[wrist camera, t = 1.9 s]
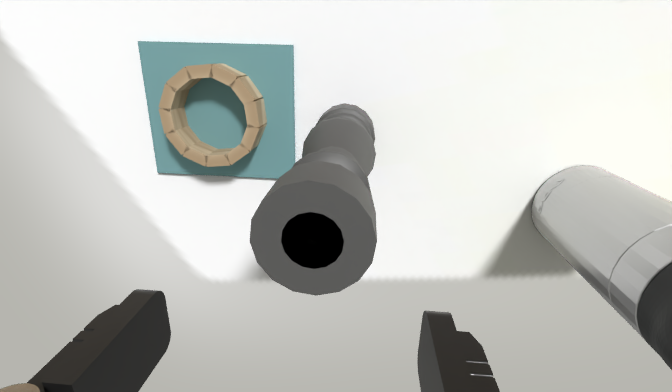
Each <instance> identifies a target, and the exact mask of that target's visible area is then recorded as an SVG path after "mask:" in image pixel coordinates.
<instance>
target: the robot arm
mask: <svg viewBox="0 0 672 392" xmlns="http://www.w3.org/2000/svg"><path fill="white" fill-rule="evenodd" d="M532 219H533V222H534V225H535V227H536V228H537V230H538V231H539V232H540V233H541V234H542V235H543V236H544V238H545V239H546V240H547V241H548V242H549V243H550V244H551V245H552V246H553V247H554V248H555V249H556V250H557V251H558V252H559V253H560V254H561V255H562V256H563V257H564V258H565V259H566V260H567V261H568V262H569V263H570V264H571V265H572V266H573V267H574V268H575V269H576V270H577V271H578V272H579V274H580V275H581V276H582V277H583V278H584V279H585V280H586V281H587V282H588V283H589V284H590V285H591V286H592V287H593V288H594V289H595V290H596V291H597V292H598V293H599V294H600V295H601V296H602V297H603V298H604V299H605V300H606V301H607V302H608V303H609V304H610V305H611V306H612V307H613V308H614V309H615V310H616V311H617V312H618V313H619V314H620V315H621V316H622V317H623V318H624V319H625V320H626V321H627V322H628V323H629V324H630V325H631V326H632V327H633V328H634V329H635V330H636V331H637V332H638V333H639V334H640V335H641V337H643V338H644V339H645V341H646V342H647V343H648V344H649V345H650V346H651V347H652V348H653V349H654V350H655V351H656V352H657V353H658V354H659V355H660V356H661V357H662V359H663V360H664V361H665V363H666V364H667V365H668V366H669V367H670V369H672V202H671V201H669V200H667V199H664V198H662V197H660V196H658V195H656V194H654V193H652V192H650V191H648V190H646V189H644V188H641V187H639V186H637V185H635V184H633V183H631V182H629V181H627V180H625V179H623V178H621V177H619V176H617V175H614V174H612V173H610V172H608V171H606V170H604V169H602V168H598V167H595V166H585V165H582V166H575V167H571V168H568V169H564V170H562V171H560V172H558V173H556V174H555V175H553V176H552V177H551V178H549V179H548V180H547V181H546V182H545V183H544V184H543V185H542V186H541V187H540V189H539V190H538V192H537V194H536V195H535V198H534V201H533V204H532ZM170 336H171V330H170V324H169V318H168V312H167V306H166V300H165V295H164V293H163V292H162V291H153V290H139V289H138V290H134V291H133V292H132V293H131V294H130V295H129V296H128V297H127V298H126V299H125V300H124V301H123V302H122V303H121V304H120V305H114V306H113V307H111V308H109V309H108V310H106V311H104V312H102V313H101V314H99V315H98V316H97V317H95V318H94V319H93V320H92V321H91V322H90V323H89V324H88V325H87V326H86V327H85V328H84V331H81V332H80V333H79V334H78V335H77V336H76V337H75V338H73V341H72V342H69V343H68V344H67V345H66V346H65V347H64V348H63V349H62V350H61V351H60V352H59V353H58V354H57V355H56V356H55V357H53V358H52V359H51V360H50V361H49V362H48V363H47V364H46V365H45V366H44V367H43V368H42V369H41V370H40V371H39V372H38V373H37V374H36V375H35V376H34V377H33V378H32V379H30V380H29V381H28V382H27V383H21V384H15V385H11V386H8V387H5V388H2V389H0V392H138V391H139V390H140V388H141V387H142V385H143V384H144V382H145V381H146V380H147V378H148V377H149V375H150V374H151V372H152V371H153V369H154V368H155V366H156V365H157V363H158V362H159V360H160V359H161V358H162V356H163V355H164V353H165V352H166V350H167V348H168V345H169V342H170ZM418 374H419V380H420V387H421V392H500V391H499V388H498V386H497V383H496V381H495V378H493V373H492V371H491V368H490V365H488V360H487V358H486V355H485V353H484V350H483V348H482V346H481V345H480V343H478V341H477V340H476V339H475V338H474V337H473V336H472V335H471V334H470V333H469V332H460V331H456V327H455V325H454V321H453V318H452V315H451V313H448V312H435V311H424V313H423V318H422V325H421V334H420V341H419V349H418Z"/></svg>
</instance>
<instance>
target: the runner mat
mask: <svg viewBox="0 0 672 392" xmlns="http://www.w3.org/2000/svg"><path fill="white" fill-rule="evenodd" d="M138 46H139V53H140V60H141V66H142V73H143V79H144V86H145V92H146V99H147V105H148V112H149V119H150V125H151V132H152V138H153V145H154V151H155V158H156V164H157V171H158V173H175V174H196V175H216V176H236V177H257V178H277V179H278V178H279V177H280V176H282V175H283V174H285V173H286V172H287V171H289V170H290V169H292V167H293V165H294V164H295V117H294V52H293V45H271V44H229V43H187V42H146V41H138ZM219 63H223V64H226V65H228V66H230V67H232V68H234V69H236V70H238V71H240V72H242V73H244V74H246V76H249V78H250V79H251V81H252V82H253V83H254V85H255V86H256V88H257V89H258V90H259V92H260V93H261V95H262V96H263V97H262V98H264V104H265V111H266V118H267V123H266V124H267V125H266V127H265V130H264V132H263V135H262V137H261V140H260V142H259V145H258V146H257V147H255V148H254V149H253V150H252V151H250V152H249V153H248V154H246V155H245V156H243V157H242V158H241V159H239V160H238V161H236V162H235V163H234V164H232V165H230V166H215V167H207V166H203V165H201V164H199V163H196V162H194V161H192V160H190V159H188V158H186V157H184V156H183V155H181V154H180V153H179V151H178V150H177V149H176V148H175V147H174V145H173V144H172V143H171V142H170V140H169V139H168V138H167V137H166V136H165V135H166V134H164V130H163V126H162V122H161V117H160V113H159V109H160V108H159V103H160V100H161V96H162V93H163V89H164V86H165V83H166V82H167V81H168V80H169V79H170V78H171V77H173V76H174V75H175V74H176V73H177V72H179V71H180V70H181V69H182V68H183V67H186V66H192V65H203V64H219ZM184 108H185V112H186V117H187V121H188V126H189V127H190V128H191V129H192V131H193V132H194V133H195V134H196V136H197V137H198V138H199V139H200V141H202V142H204V143H206V144H208V145H210V146H213V147H215V148H217V149H225V148H235V147H237V146H238V145H239V144H241V141H242V138H243V136H244V133H245V130H246V128H247V120H246V114H245V108H244V104H243V103H242V101H241V100H240V99H239V97H238V96H237V95H236V93H235V92H234V91H233V89H232V88H231V87H230V86H228V85H226V84H224V83H222V82H220V81H218V80H216V79H214V78H211V77H209V78H202V79H201V80H200V81H199V82H198V83H196V84H195V85H194V86H193V87H191V88H190V90H189V93H188V96H187V99H186V103H185V106H184Z"/></svg>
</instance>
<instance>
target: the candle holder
mask: <svg viewBox="0 0 672 392" xmlns="http://www.w3.org/2000/svg"><path fill="white" fill-rule="evenodd" d="M374 140H375V134H374V128H373V123H372V120H371V119H370V117H369V116H368V115H367V113H366V112H365V111H364V110H362V109H360V108H359V107H357V106H356V105H350V104H341V105H337V106H333V107H332V108H330V109H329V110H328V111H326V112H325V113H324V114H323V115H322V116H321V118H320V119H319V121H318V123H317V124H316V126H315V127H314V128H312V130H311V131H310V133H309V134H308V136H307V138H306V140H305V141H304V145H303V153H302V159H300V160H299V161H297V162H296V163H295V164H294V165H293V167H292V169H290V170H289V171H287V172H286V173H285V174H283V175H282V176H280V177H279V178H278V180H277V181H276V182H275V184H274V185H273V186H272V188H271V189H270V191H269V192H268V193H267V195H266V196H265V197H264V199H263V200H262V202H261V204H260V205H259V207H258V209H257V211H256V212H255V214H254V216H253V217H252V219H251V232H250V243H251V246H252V249H253V252H254V255H255V257H256V260H257V263H258V264H259V265H260V266H261V267H262V268H263V270H264V271H265V272H266V273H267V274H268V275H269V276H270V277H271V279H272V280H274V281H276V282H277V283H279V284H281V285H283V286H285V287H286V288H288V289H290V290H292V291H295V292H300V293H306V294H311V295H322V294H328V293H334V292H339V291H341V290H343V289H345V288H347V287H348V286H350V285H352V284H354V283H355V282H357V281H359V280H360V278H361V277H362V276H363V274H364V273H365V272H366V270H367V269H368V268H369V266H370V265H371V264H372V261H373V256H374V252H375V247H376V243H377V235H376V213H375V208H374V204H373V199H372V195H371V191H370V187H369V182H368V178H367V176H368V175H369V174H370V172H371V171H372V169H373V166H374V161H375V156H376V153H375V148H374Z"/></svg>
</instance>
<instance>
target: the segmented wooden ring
mask: <svg viewBox="0 0 672 392" xmlns="http://www.w3.org/2000/svg"><path fill="white" fill-rule="evenodd" d="M209 77H211V78H214V79H216V80H218V81H220V82H222V83H224V84H226V85H228V86H230V87H231V88H232V89H233V91H234V92H235V93H236V95H237V96H238V97H239V99H240V100H241V101H242V103H243V104H244V108H245V114H246V120H247V128H246V130H245V133H244V136H243V138H242V141H241V144H239V145H238V146H237V147H235V148H225V149H217V148H215V147H213V146H210V145H208V144H206V143H204V142H202V141H200V139H199V138H198V137H197V136H196V134H195V133H194V132H193V131H192V129H191V128H190V127H189V126H188V121H187V117H186V112H185V108H184V106H185V103H186V99H187V96H188V93H189V90H190V88H191V87H193V86H194V85H195V84H196V83H198V82H199V81H200V80H201V79H202V78H209ZM262 97H263V96H262V95H261V93H260V92H259V90H258V89H257V88H256V86H255V85H254V83H253V82H252V81H251V79H250V78H249V76H246V74H244V73H242V72H240V71H238V70H236V69H234V68H232V67H230V66H228V65H226V64H223V63H219V64H203V65H192V66H186V67H183V68H182V69H181V70H180V71H179V72H177V73H176V74H175V75H174V76H173V77H171V78H170V79H169V80H168V81H167V82H166V83H165V86H164V89H163V93H162V96H161V100H160V103H159V108H160V109H159V113H160V117H161V122H162V126H163V130H164V134H166V135H165V136H166V137H167V138H168V139H169V140H170V142H171V143H172V144H173V145H174V147H175V148H176V149H177V150H178V151H179V153H180V154H181V155H183V156H184V157H186V158H188V159H190V160H192V161H194V162H196V163H199V164H201V165H203V166H207V167H215V166H230V165H232V164H234V163H235V162H236V161H238V160H239V159H241V158H242V157H243V156H245V155H246V154H248V153H249V152H250V151H252V150H253V149H254V148H255V147H257V146H258V145H259V142H260V140H261V137H262V135H263V132H264V130H265V127H266V125H267V124H266V123H267V118H266V111H265V104H264V98H262Z"/></svg>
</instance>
